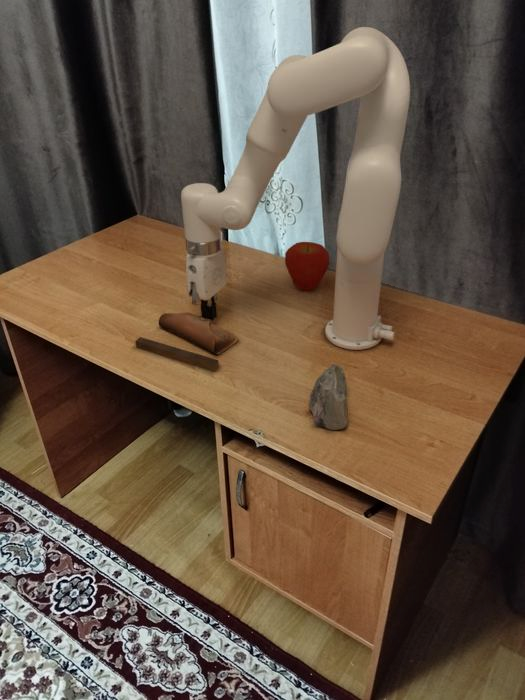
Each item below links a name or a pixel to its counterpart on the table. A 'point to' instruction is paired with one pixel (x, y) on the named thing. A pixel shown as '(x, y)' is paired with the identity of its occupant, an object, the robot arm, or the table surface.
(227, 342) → the sunglasses case
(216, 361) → the rail
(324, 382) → the mineral rock
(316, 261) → the apple
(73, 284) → the table surface
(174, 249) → the table surface
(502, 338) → the table surface
